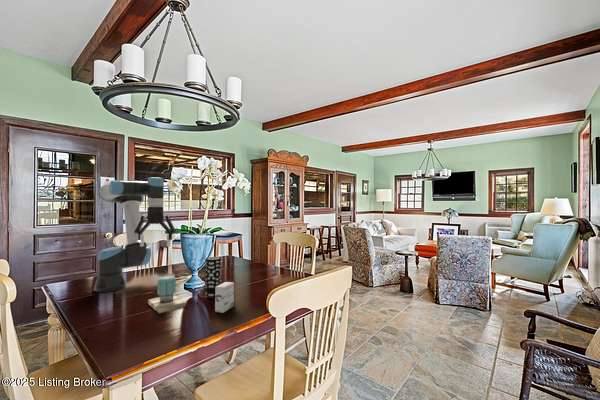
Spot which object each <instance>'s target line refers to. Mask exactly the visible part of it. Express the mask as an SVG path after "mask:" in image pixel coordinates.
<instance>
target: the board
mask: <svg viewBox="0 0 600 400" xmlns="http://www.w3.org/2000/svg"><path fill="white" fill-rule="evenodd" d="M147 304H148V305H149V306H150V307H151V308H152V309H153V310H154V311H156V312H157V313H158V314H162V313H165V312H169V311H174V310H177V309H180V308H184V307H186V301H185V300H183V299H182V298H179V297H178V296H177V295H175V293H174V294H173V301H172V302H169V303H160V296H159V297H154V298H151V299H148V300H147Z"/></svg>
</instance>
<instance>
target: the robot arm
mask: <svg viewBox="0 0 600 400" xmlns="http://www.w3.org/2000/svg"><path fill="white" fill-rule="evenodd" d="M164 186H165V183H164V178H163V177H157V176H156V177H154V176H153V177H152V176H151V177H148V178H147V181H136V180H135V181H131V180H110V182H109V183H108V184H104V185H103V184H102V186H100V187H99V189H98V191H97V193H98V196H99V198H100V199H101V200H103V201H105V202H109V203H119V204H120V207H121V208H122V209H123V214H124V224H125V232H126V233H125V235H126V242H127V243H126V244H125V246H124V248H123V246H112V247H107V248H104V249H101V250H99V252H98V255H97V256H98V257H97V261H98V265H97V266H98V269H97V273H98V275H97V279H96V281H95V284H94V287H93V291H94V292H95V291H96V292H95V293H110V292H109V291H111V292H115V291H116V292H117V291H120V290H122V289H125V288H126V287H127V283H126V278H125V277H124V273H123V269H128V268H129V269H130V268H135V267H142V266H146V265H148V264H149V263H150V261H151V257H152V247H151V246H150V245H147V242H146V241H145V234H144V232H145V231H146V230H147V228H149V226H150V225H160V226H161V227H162V228H163V229H164V230H165V232H166V233H167V234H166V247H170V246H171V240H173V233H176V232H177V230H176V228H175V226H174V224H173V222H172V221H171V217H170V215H164V191H165V190H164V189H165V188H164ZM145 197H147V206H148V207H147V215H144V214H142V215H141V212H140V206H141V204H142V202H143V201H144V199H145ZM146 219H147V221H146ZM164 220H165V221H166V223H167V224H166V223H165V221H164ZM145 221H146V223H145ZM144 223H145V224H144Z"/></svg>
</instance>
